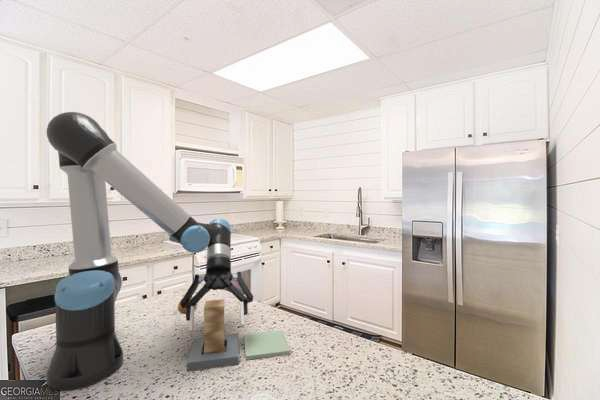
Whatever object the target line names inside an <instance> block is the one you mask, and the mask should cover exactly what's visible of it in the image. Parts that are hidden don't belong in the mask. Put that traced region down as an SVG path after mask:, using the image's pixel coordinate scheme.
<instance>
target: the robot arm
mask: <svg viewBox="0 0 600 400" xmlns="http://www.w3.org/2000/svg"><path fill="white" fill-rule="evenodd" d="M46 137H47V139H48V143H49V144H50V145H51V147H53V148H54V150H55V151H57V153H58V165H59V169H60V170H62V172H64V173H66V175H67V183H68V184H67V185H68V196H69V207H70V221H71V229H72V231H71V232H72V243H73V253H74V260H73V261H72V262H71V263H70V264H69V266H68V276H66V277H64V278H63V279H61V280H60V281H59V282H58V283H57V285H56V286H55V293H54V303H55V338H56V340H55V341H56V344H55V345H56V346H55V350H54V351H53V355H52V357H51V360H50V363H49V366H48V369H47V371H46V372H47V373H46V384H47V386H48V387H49V388H51V389H52V390H55V391H56V390H57V391H70V390H75V389H77V390H78V389H80V388H85V387H87V386H90V385H93V384H96V383H98V382H100V381H102V380H104V379H106V378H108V377H110V376H112V375H113V374H114V373H116V372H117V371H118V370H119V369H120V368H121V367H122V365H123V362H124V351H123V349H122V345H121V344H120V342H119V339H118V336H117V334H116V324H115V323H116V317H115V315H116V314H115V311H116V310H115V306H116V301H117V297H118V295H119V293H120V290H121V288H122V284H123V283H122V282H123V280H122V279H123V278H122V275H121V273H120V271H119V259H118V258H117V257H116V256H114V255H113V254H112V246H111V236H110V235H111V233H110V223H109V222H110V221H109V210H108V209H109V207H108V198H107V186H106V185H107V184H108V185H109V186H111V188H113V189H114V190H115V191H117V192H118V194H120V195H121V196H122V197H124V198H125V199H126V200H127V201H128V202H130V203H131V204H132V205H133V206H135V207H136V208H137V209H138V210H139V211H140V212H142V213H143V214H144V215H145V216H146V217H148V218H149V219H150V220H151V221H152V222H153V223H154V224H156V225H158V227H160V228H161V229H162V230H163V231H165V233H167V234H168V235H169V236H168V240H169V241H170V242H173V243H176V244H179V245H181V246H182V248H183V249H184V250H185V251H187V252H189V253H193V254H196V253H200V252H203V251H204V250H206V249H207V251H206V265H205V266H206V267H205V275H199V274H198V273H197V274H195V275H194V277H193V281H192V283H191V285H190V286H189V288H188V289H187V291H186V292H185V294H184V295H183V297H182V298H183V299H182V298H181V299H182V300H181V299H180V301H181V302H180V301H179V302H180V305H181V308H186V309H187V310H186V313H185V319H186V321H187V322H188V321H189V323H188V324H189V325H188V332H189V335H192V334H194V323H195V322H194V321H195V311H196V310H195V309H194V306H195V305H196V304H197V305H198V303H199V302H200V301H201V300H202V298H203V297H204V296H205V295H206V294H207V293H209V292H210V291H211V290H213V291H218V290H224V289H226V290H228V291H229V292H230V293H231V295H232V294H233V296H234V297H235V298H236V299H237V300H238V301H239V302H240V329H245V316H247V315H248V312H249V310H248V305H249V303H253V301H254V295H253V294H252V292H251V290H250V289H249V287H248V285H247V284H246V282H245V281H244V279H243V277H242V272H241V271H237V273H233V274H232V259H231V257H232V255H231V253H232V251H231V250H232V249H231V248H232V247H231V241H232V240H231V238H232V237H231V236H232V232H231V226H230V225H231V224H230V223H229V222H228V220H226V219H223V218H218V219H212V220H211V221H210V222H209V223H203V222H198V221H196V220H195V218H193V217H192V216H191V215H190V214H189V213H188V212H187V211H185V210H184V208H182V207H181V206H180V205H179V204H178V203H177V202H176V201H174V200H173V199H172V198H171V197H170V196H169V195H168V194H167V193H165V191H163V190H162V189H161V188H160V187H159V186H158V185H156V184H155V183H154V182H153V181H152V180H151V179H150V178H149V177H147V175H145V174H144V173H143V172H142V171H141V170H140V169H139V168H137V167H136V166H135V165H134V164H133V163H132V162H131V161H130V160H129V159H128V158H126V156H124V155H123V154H122V153H120V151H119V150H118V149H117V146H118V145H117V143H115V141H113V140H112V139H111V138H110V137H109V135H108V133H107V132H106V131H105V130H104V129H103V128H102V127H101V125H100V124H99V123H98V122H97V121H96V120H95V119H93V118H92V117H91V116H89V115H87V114H86V113H85V114H84V113H81V112H77V111H66V112H62V113H59V114H57V115H55V116H54V117H52V119H51V120H50V121H48V124H47V128H46ZM106 183H107V184H106ZM233 279H234V281H235V282H237V283H238V286H239V287H240V289H241V291H242V292H241V291H240V290H239V289H238V288H237V287H236V286H235V285H234V284H233V283H232V280H233ZM203 281H204V285H203V286H202V287H201V289H199V290H198V292H196V290H197V289H198V287H199V285H200V284H201V283H202V282H203ZM191 297H193V298H192V299H191ZM190 299H191V300H190ZM189 300H190V301H189ZM197 305H196V306H197Z"/></svg>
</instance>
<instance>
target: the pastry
mask: <svg viewBox="0 0 600 400" xmlns="http://www.w3.org/2000/svg"><path fill="white" fill-rule="evenodd" d="M193 297H194V296H192V297H191V299H192V298H193ZM182 299H183V297H182V298H181V299H180V301H179V302H178V305H177V309H178V310H179V312H180V313H182V314H186V310H187V309H186V308H181V305H180V302H181V300H182ZM191 299H190V300H191ZM190 300H189V301H190ZM197 305H198V303H197V304H196V305H195V306H194V310H195V309H196V308H197Z"/></svg>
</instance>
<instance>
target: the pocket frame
mask: <svg viewBox="0 0 600 400" xmlns="http://www.w3.org/2000/svg"><path fill="white" fill-rule="evenodd" d="M238 336H239V335H238V333H228V334H224V348H225V347H226V351H224V352H220V353H212V354H204V336H202V337H194V338H193V340H192V343H191V346H190V351H189V353H188V356H187V362H186V371H187V372H189V371H196V370H198V371H199V370H203V369H204V370H206V369H211V368H213V369H214V368H220V367H227V366H234V365H239V364H240V363H239V360H240V359H239V339H238V338H239V337H238Z"/></svg>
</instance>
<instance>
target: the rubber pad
mask: <svg viewBox="0 0 600 400" xmlns="http://www.w3.org/2000/svg"><path fill="white" fill-rule="evenodd" d="M243 341H244V353H245V354H244V355H245V361H248V360H249V361H250V360H256V359H263V358H271V357H272V358H273V357H279V356H286V355H291V349H290V346H289V343H288V341H287V338H286V334H285V332H284V330H283V329H282V330H273V331H263V332H255V333H246V334H243Z"/></svg>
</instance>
